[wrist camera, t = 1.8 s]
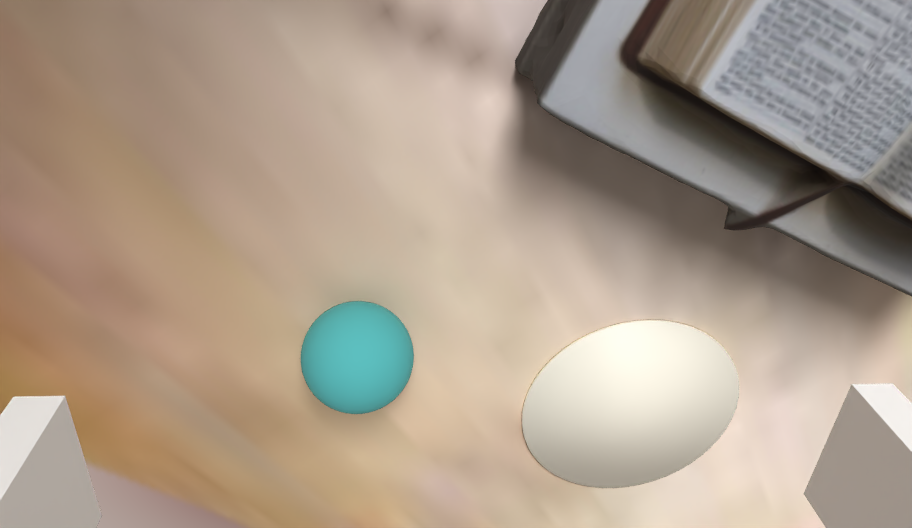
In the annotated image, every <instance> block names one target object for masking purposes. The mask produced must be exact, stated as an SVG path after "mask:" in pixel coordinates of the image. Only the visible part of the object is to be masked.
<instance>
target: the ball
mask: <svg viewBox="0 0 912 528" xmlns="http://www.w3.org/2000/svg"><path fill="white" fill-rule="evenodd" d="M413 359H414V353H413V345H412V341H411V338H410V336H409V333H408V331H407V329H406V328H405V326H404V325H403V323H402V322H401V321H400V319H399V318H398V317H397V316H396V315H394V314H393V313H392V312H391V311H389V310H388V309H386V308H384V307H382V306H380V305H377V304H374V303H370V302H364V301H353V302H346V303H342V304H339V305H337V306H334V307H332V308H331V309H329V310H327V311H325V312H324V313H323V314H322V315H320V316H319V317H318V318H317V319H316V320H315V322H314V323H313V324H312V325H311V327H310V328H309V330H308V332H307V334H306V336H305V339H304V342H303V345H302V350H301V368H302V373H303V376H304V378H305V381H306V383H307V385H308V387H309V389H310V390H311V391H312V393H313V394H314V395H315V396H316V397H317V398H318V399H319V400H320V401H321V402H322V403H324V404H325V405H326V406H328V407H330V408H332V409H334V410H337V411H340V412H344V413H349V414H363V413H369V412H372V411H376V410H378V409H381V408H382V407H384V406H386V405H387V404H389V403H390V402H392V401H393V400H394V399H395V398H396V397H397V396H398V395H399V394H400V393H401V392H402V390H403V389H404V387H405V386H406V384H407V382H408V380H409V378H410V375H411V371H412V368H413Z"/></svg>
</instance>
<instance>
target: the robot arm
mask: <svg viewBox="0 0 912 528" xmlns="http://www.w3.org/2000/svg"><path fill="white" fill-rule="evenodd" d="M804 495H805V496H806V498H807V500H808V501H809V503H810V504H811V506H812V507H813V509H814V510H815V512H816V513H817V515H818V516H819V518H820V519H821V521H822V522H823V524H824V525H825V527H826V528H912V403H911V402H910V401H909V400H908V399H907V398H906V397H905V396H904V395H903V394H902V393H901V392H900V391H899V390H898V389H897V388H896V387H895V386H894V384H852V385H851V387H850V389H849V392H848V394H847V396H846V398H845V401H844V403H843V405H842V408H841V410H840V412H839V414H838V417H837V419H836V421H835V423H834V426H833V428H832V430H831V433H830V435H829V437H828V439H827V442H826V444H825V446H824V449H823V451H822V453H821V455H820V458H819V460H818V462H817V465H816V467H815V469H814V471H813V474H812V476H811V478H810V481H809V483H808V485H807V487H806V490H805V492H804ZM101 517H102V513H101V510H100V507H99V504H98V500H97V497H96V494H95V491H94V487H93V485H92V481H91V478H90V475H89V471H88V468H87V465H86V462H85V458H84V455H83V452H82V449H81V446H80V442H79V439H78V436H77V433H76V429H75V426H74V423H73V420H72V416H71V413H70V410H69V407H68V404H67V400H66V397H65V396H23V397H13V398H12V400H11V401H10V402H9V404H8V405H7V407H6V408H5V409H4V411H3V412H2V414H1V415H0V528H97V526H98V523H99V521H100V519H101Z"/></svg>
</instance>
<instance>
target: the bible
mask: <svg viewBox="0 0 912 528" xmlns="http://www.w3.org/2000/svg"><path fill="white" fill-rule="evenodd" d="M515 64H516V67H517V69H518V71H519V73H520V74H522V75H524V76H526V77H527V78H529V79H531V80H533V85H534V89H535V93H536V94H537V95H538V99H537V103H538V104H539V105H540V106H541V107H542V108H544V109H545V110H546V111H547V112H548V113H549V114H551V115H552V116H554V117H556V118H558V119H559V120H561V121H562V122H564V123H565V124H567V125H569V126H571V127H574V128H575V129H577V130H579V131H580V132H582V133H584V134H586V135H587V136H589V137H591V138H593V139H596V140H598V141H600V142H602V143H604V144H606V145H607V146H609V147H611V148H613V149H615V150H617V151H619V152H622V153H624V154H627V155H629V156H631V157H633V158H635V159H637V160H639V161H641V162H642V163H644V164H646V165H648V166H650V167H652V168H654V169H656V170H658V171H660V172H662V173H664V174H666V175H668V176H670V177H672V178H674V179H676V180H677V181H679V182H682V183H684V184H686V185H689V186H691V187H693V188H695V189H696V190H698V191H700V192H703V193H705V194H707V195H710V196H712V197H714V198H716V199H717V200H719V201H721V202H723V203H725V204H726V205H727V206H728V213H727V217H726V221H725V227H724V229H729V230H744V229H750V228H755V227H768V228H773V229H775V230H777V231H779V232H781V233H783V234H785V235H787V236H789V237H791V238H793V239H795V240H797V241H799V242H800V243H802V244H804V245H806V246H808V247H810V248H812V249H814V250H816V251H818V252H819V253H821V254H823V255H825V256H827V257H829V258H831V259H833V260H835V261H837V262H840V263H842V264H844V265H846V266H848V267H850V268H852V269H855V270H857V271H859V272H861V273H863V274H865V275H867V276H870V277H872V278H874V279H876V280H878V281H881V282H883V283H885V284H887V285H889V286H891V287H893V288H895V289H897V290H899V291H902V292H904V293H906V294H908V295H910V296H912V0H548V1H547V3H546V4H545V6H544V7H543V9H542V10H541V12H540V14H539V16H538V19H537V21H536V23H535V25H534V27H533V29H532V31H531V32H530V34H529V36H528V38H527V39H526V41H525V44H524V45H523V47H522V49H521V51H520V53H519V55H518V56H517V58H516V60H515Z"/></svg>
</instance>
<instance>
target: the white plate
mask: <svg viewBox="0 0 912 528" xmlns="http://www.w3.org/2000/svg"><path fill="white" fill-rule="evenodd" d="M738 398H739V379H738V374H737V371H736V367H735V365H734V363H733V361H732V359H731V357H730V356H729V354H728V353H727V352H726V350H725V349H724V348H723V346H722V345H721V344H720V343H718V342H717V341H716V340H715V339H714V338H713V337H711V336H710V335H708V334H706V333H705V332H703V331H701V330H699V329H697V328H695V327H692V326H690V325H686V324H683V323H679V322H674V321H667V320H651V319H648V320H634V321H629V322H623V323H618V324H614V325H611V326H608V327H604V328H601V329H599V330H596V331H594V332H591V333H589V334H587V335H585V336H583V337H581V338H579V339H578V340H576V341H574V342H573V343H571V344H570V345H568V346H567V347H565V348H564V349H562V350H561V351H560V352H559V353H558V354H556V355H555V356H554V357H553V358H552V359H551V360H550V361H549V362H548V363H547V364H546V365H545V366H544V367H543V368H542V369H541V371H540V372H539V373H538V375H537V376H536V378H535V379H534V381H533V383H532V384H531V386H530V388H529V390H528V392H527V395H526V398H525V401H524V405H523V410H522V427H523V434H524V437H525V440H526V443H527V446H528V448H529V449H530V451H531V453H532V455H533V456H534V457H535V458H536V460H537V461H538V462H539V463H540V464H541V465H542V466H543V467H545V468H546V469H547V470H548V471H550V472H551V473H553V474H554V475H556V476H558V477H560V478H562V479H564V480H567V481H570V482H573V483H576V484H580V485H584V486H589V487H599V488H619V487H629V486H634V485H640V484H644V483H648V482H651V481H655V480H657V479H660V478H663V477H666V476H668V475H670V474H672V473H674V472H676V471H678V470H680V469H682V468H684V467H685V466H687V465H689V464H690V463H692V462H693V461H695V460H696V459H697V458H699V457H700V456H701V455H703V454H704V453H705V452H706V451H707V450H708V449H710V448H711V447H712V445H713V444H714V443H715V442H716V441H717V440H718V439H719V438H720V436H721V435H722V434H723V432H724V431H725V430H726V428H727V426H728V425H729V423H730V421H731V419H732V417H733V415H734V412H735V410H736V406H737V402H738Z"/></svg>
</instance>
